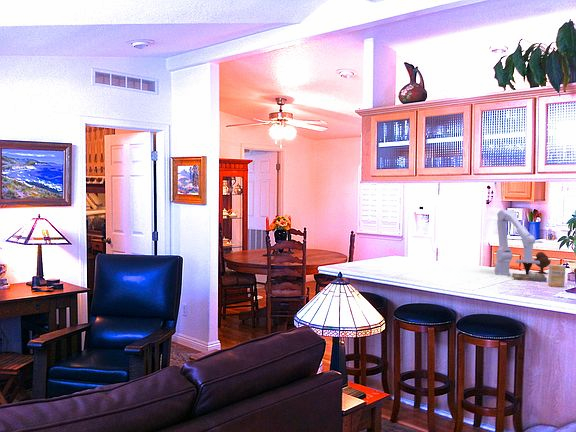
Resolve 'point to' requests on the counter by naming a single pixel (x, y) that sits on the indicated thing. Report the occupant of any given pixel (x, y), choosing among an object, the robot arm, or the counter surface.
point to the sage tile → (531, 274)
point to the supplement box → (556, 275)
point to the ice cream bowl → (542, 261)
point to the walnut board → (521, 277)
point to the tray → (539, 278)
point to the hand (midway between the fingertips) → (527, 274)
